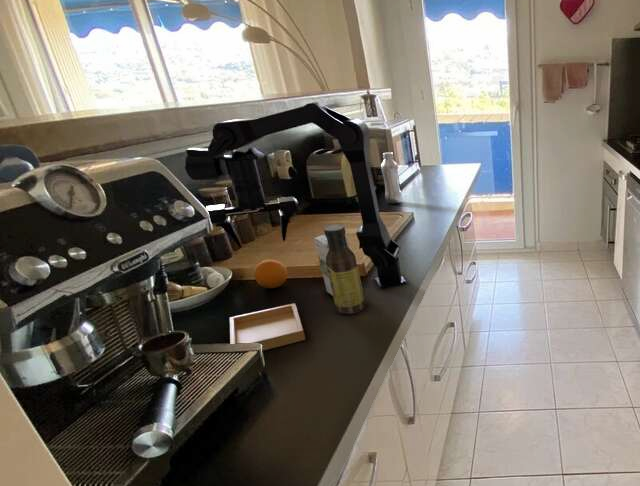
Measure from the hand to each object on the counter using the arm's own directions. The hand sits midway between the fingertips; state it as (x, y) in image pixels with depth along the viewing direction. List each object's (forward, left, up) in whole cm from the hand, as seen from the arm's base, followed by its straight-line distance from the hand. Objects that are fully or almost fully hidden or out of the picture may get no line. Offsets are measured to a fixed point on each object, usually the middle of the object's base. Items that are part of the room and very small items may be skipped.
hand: (262, 244), depth 108 cm
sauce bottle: (-22, -14, -12) cm, 29 cm away
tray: (-24, +3, -12) cm, 27 cm away
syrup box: (-12, -14, -12) cm, 22 cm away
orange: (0, 0, -8) cm, 8 cm away
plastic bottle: (+63, -49, -12) cm, 81 cm away
